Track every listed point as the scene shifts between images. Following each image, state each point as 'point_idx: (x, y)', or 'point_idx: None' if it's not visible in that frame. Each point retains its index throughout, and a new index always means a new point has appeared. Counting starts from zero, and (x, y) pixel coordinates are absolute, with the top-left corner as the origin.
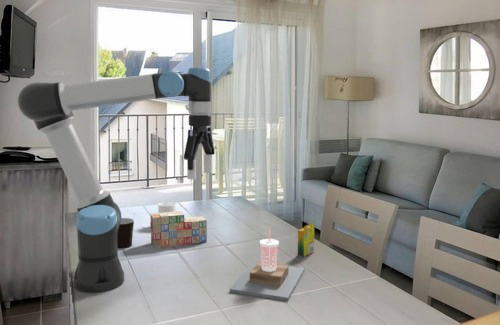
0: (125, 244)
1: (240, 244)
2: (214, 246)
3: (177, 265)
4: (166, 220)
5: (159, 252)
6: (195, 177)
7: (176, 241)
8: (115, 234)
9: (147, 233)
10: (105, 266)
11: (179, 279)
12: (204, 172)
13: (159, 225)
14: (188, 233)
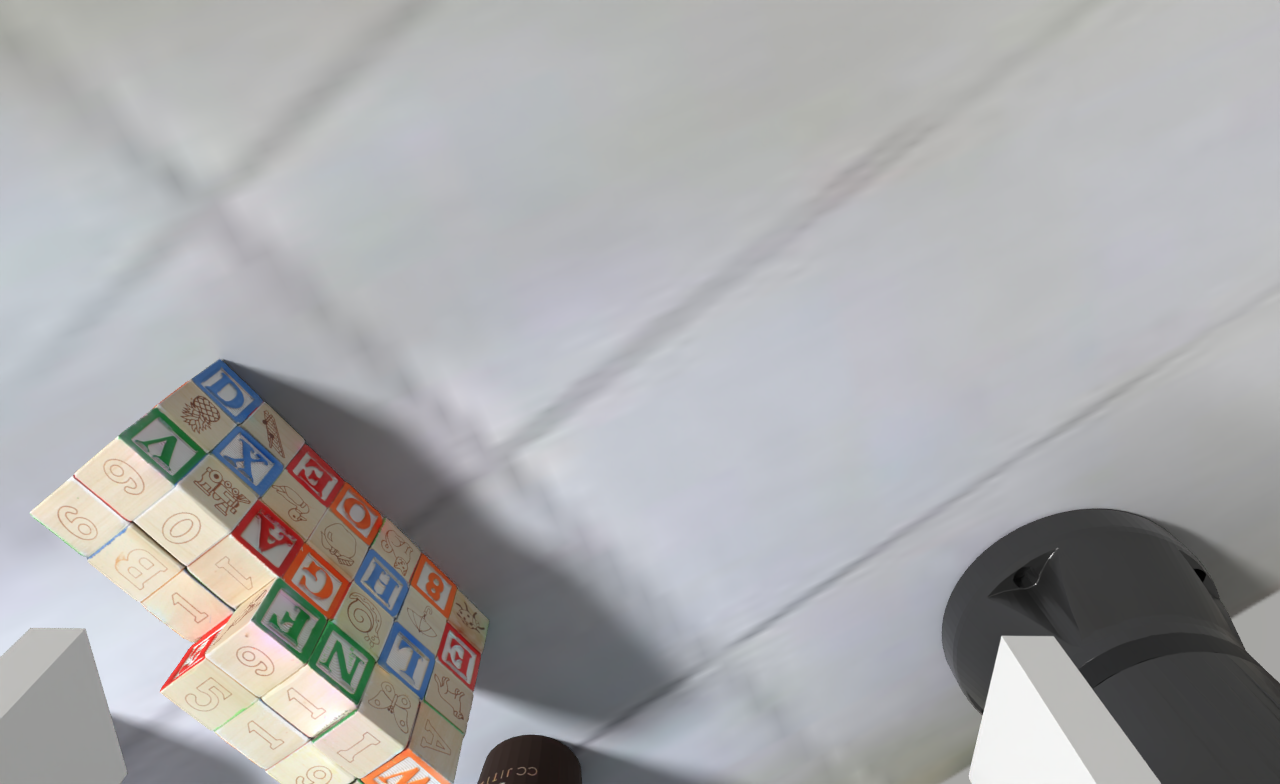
0: (564, 762)
1: (124, 73)
2: (280, 265)
3: (733, 355)
4: (382, 693)
5: (555, 553)
6: (1037, 667)
7: (379, 533)
8: (1263, 753)
9: None
10: (1224, 626)
11: (956, 242)
12: (120, 768)
13: (431, 701)
14: (293, 499)
